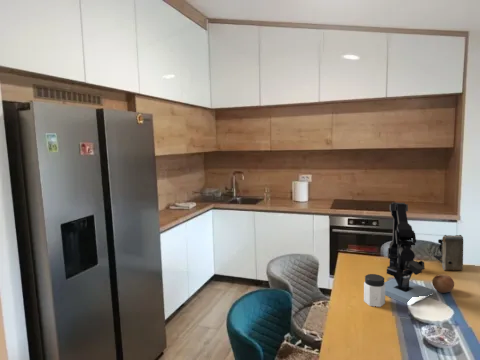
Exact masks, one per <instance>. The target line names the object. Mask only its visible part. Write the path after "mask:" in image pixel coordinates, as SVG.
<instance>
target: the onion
mask: <svg viewBox="0 0 480 360" xmlns="http://www.w3.org/2000/svg"><path fill="white" fill-rule="evenodd" d="M431 284H432V287H433V289H435V291H437V292H439V293H441V294H446V293H449V292H451V291H452V290H453V289H454V287H455V282H454V279H453V278H452V276H451V275H447V274H444V273H441V274H437V275H435V276H433V278H432V280H431Z"/></svg>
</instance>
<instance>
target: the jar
mask: <svg viewBox="0 0 480 360" xmlns="http://www.w3.org/2000/svg"><path fill="white" fill-rule="evenodd" d="M384 282H385V277H384V276H382V275H380V274H376V273H368V274H365V276H364V282H363V302H364V303H366V304H367V306H369V307H375V306H376V308H381V307H383V306H384V305H385V304H386V295H385V284H384Z"/></svg>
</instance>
